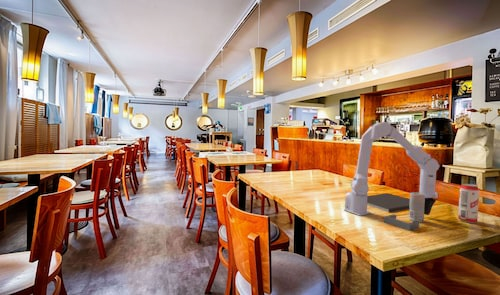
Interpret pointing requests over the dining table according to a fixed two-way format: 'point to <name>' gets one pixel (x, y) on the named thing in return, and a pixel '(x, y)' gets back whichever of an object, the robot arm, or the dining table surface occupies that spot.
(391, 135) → the robot arm
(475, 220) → the beer can
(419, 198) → the energy drink
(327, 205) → the dining table surface
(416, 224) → the metal berth
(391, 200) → the notebook
